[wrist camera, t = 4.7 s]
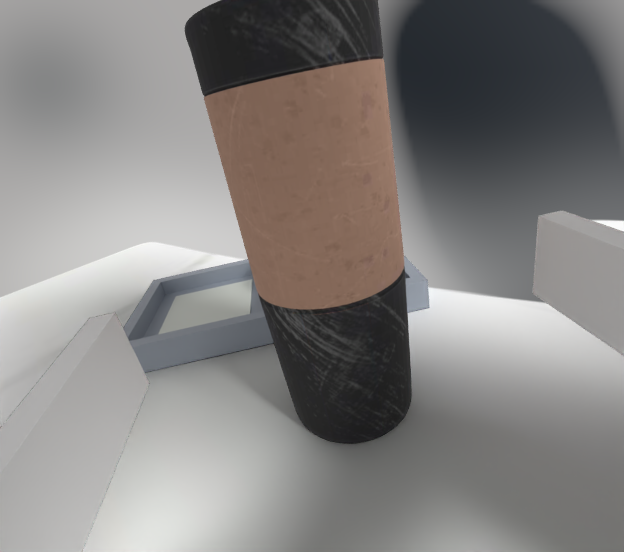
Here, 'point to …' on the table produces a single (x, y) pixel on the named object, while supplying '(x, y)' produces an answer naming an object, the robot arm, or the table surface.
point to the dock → (214, 315)
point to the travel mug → (314, 198)
